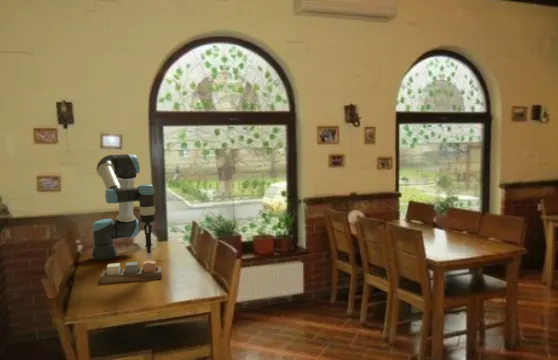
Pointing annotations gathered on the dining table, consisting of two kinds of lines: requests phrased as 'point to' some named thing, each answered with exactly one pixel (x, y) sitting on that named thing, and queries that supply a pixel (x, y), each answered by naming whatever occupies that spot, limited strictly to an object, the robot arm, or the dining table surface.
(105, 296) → the dining table surface
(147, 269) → the terracotta key
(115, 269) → the ivory key
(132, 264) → the slate key
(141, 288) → the dining table surface
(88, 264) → the dining table surface
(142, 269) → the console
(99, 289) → the dining table surface
